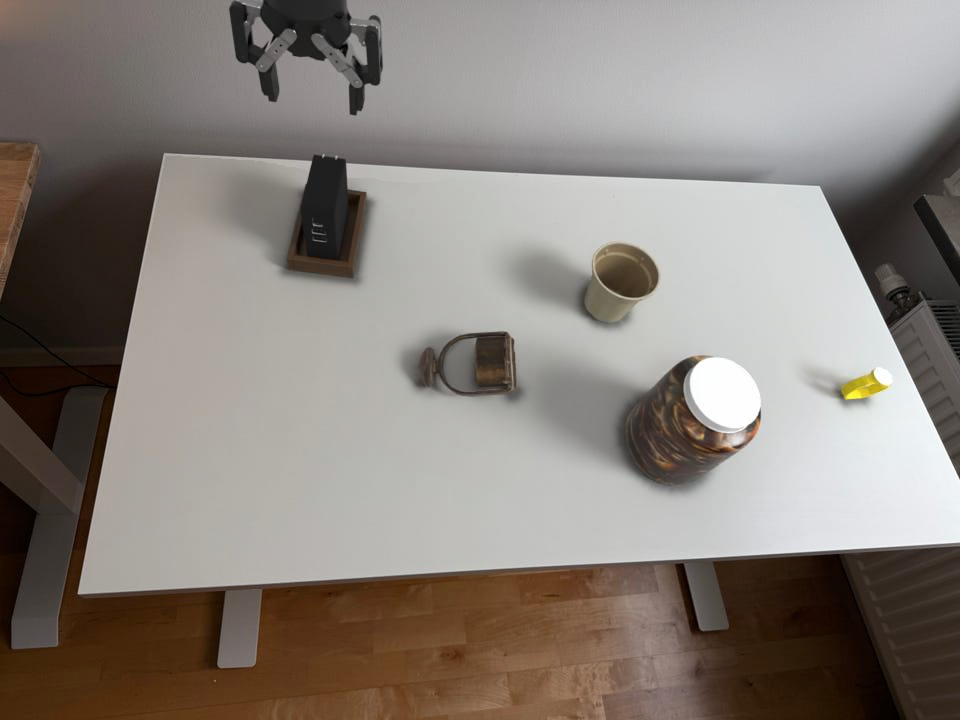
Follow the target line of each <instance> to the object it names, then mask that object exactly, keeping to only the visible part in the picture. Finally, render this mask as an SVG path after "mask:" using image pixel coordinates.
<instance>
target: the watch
mask: <svg viewBox="0 0 960 720" xmlns="http://www.w3.org/2000/svg"><path fill="white" fill-rule="evenodd" d="M891 385H893V376H892V373H890V372H889V370H887V369H885V368H884V367H882V366H881V367H880V366H878V367H875V368H873V369H872V370H871V371H870V373H869V374H865V375H862V376H859V377H857V378H854V379H852V380H850V381H848V382H846V383H844V384H843V385H842V386H841V387H840V389H839V390H840V392H841V394H842V396H843V398H844V400H845V401H846V400H858V399H865V398H868V397H871V396H874V395H877V394H879V393H881V392H884V391H886V390H887V389H889V388H890V387H891Z"/></svg>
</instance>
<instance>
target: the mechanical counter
mask: <svg viewBox="0 0 960 720" xmlns="http://www.w3.org/2000/svg"><path fill="white" fill-rule="evenodd" d="M470 339H475V343H474V344H475V346H474V363H475V365H474V367H475V379H476V383H477V387H478V389H479V390H477V391H464V390H463V391H462V390H459V389H456V388H455V387H453V386H452V385H451V384H450V383H449V382H448V380H447V379H446V377H445V374H444V371H443V370H444V369H443V368H444V359H445V357H446V354H447V352H448V351H449V350H450V348H451V347H453V346H454V345H455V344H457V343H458V342H461V341H464V340H470ZM516 363H517V362H516V352H515V339H514V338H513V337H512V336H511V335H510V333H509V332H508V331H502V330H501V331H483V332H467V333H463V334H460V335H458V336H456V337H454V338H452V339H451V340H449V341H448V342H447V343H446V344H445V345H444V347H443V348H442V349H441V351H440V354H439V357H438V358H437V360H436V354H435V349H434V347H431V346H427V347H426V348H425V349H424V350H423V351H422V353H421V355H420V357H419V361H418V372H419V377H420V379H421V382H422V383H423V385H424V386H425V387H427V388H429V389H431V388H433V387H434V386H435V379H436V374H438V375H439V379H440V380H441V382H442V383H443V385H444V386H445V387H446V388H447V389H448V390H449V391H451V392H452V393H454V394H456V395H458V396H462V397H481V396H482V397H483V396H498V395H499V396H500V395H509V394H511V393H515V391H516V386H517V368H516V366H517V365H516Z"/></svg>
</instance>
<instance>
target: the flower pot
mask: <svg viewBox="0 0 960 720" xmlns="http://www.w3.org/2000/svg"><path fill="white" fill-rule="evenodd" d="M661 280H662V275H661V269H660V267H659V264H658V263H657V262H656V260H655V258H654V257H653V256H652V255H651V254H650V253H649V252H648V251H647V250H646V249H644V248H642V247H640V246H639V245H636V244H634V243H632V242H627V241H610V242H607V243H605V244H603V245H601V246H599V248H597V250H596V251H595V252H594V254H593V257H592V260H591V276H590V280H589V283H588V286H587V289H586V293H585V294H584V300H583V301H584V303H583V304H584V307H585V309H586V311H587V312H588V313H589V314H591V316H592V317H593V318H594V319H595V320H597V321H599V322H603V323H609V324H611V323H616V322H618V321H620V320H621V319H623V318H624V317H625V316H626V315H627V314H629V312H630V311H631V310H632V309H633V308H634V307H635V306H636V305H637V304H638V303H639V302H641V301H643V300H646V299H648V298H650V297H651V296H653V295H654V294H655V293H656V292H657V291H658V289H659V287H660V285H661Z"/></svg>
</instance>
